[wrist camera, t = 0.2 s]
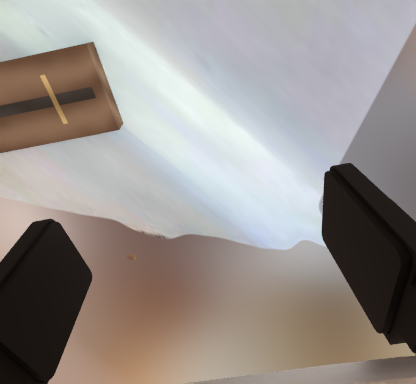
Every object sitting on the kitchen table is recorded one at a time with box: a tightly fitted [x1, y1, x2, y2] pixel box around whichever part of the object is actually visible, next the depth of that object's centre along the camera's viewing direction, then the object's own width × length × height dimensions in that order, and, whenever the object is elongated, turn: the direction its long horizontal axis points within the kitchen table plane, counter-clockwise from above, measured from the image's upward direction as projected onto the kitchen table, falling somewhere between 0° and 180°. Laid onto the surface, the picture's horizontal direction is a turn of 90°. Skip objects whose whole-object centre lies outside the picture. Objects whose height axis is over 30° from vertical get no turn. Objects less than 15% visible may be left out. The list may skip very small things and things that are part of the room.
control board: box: [0, 42, 123, 153], centre depth 41 cm, size 12×24×3 cm, turn 100°
